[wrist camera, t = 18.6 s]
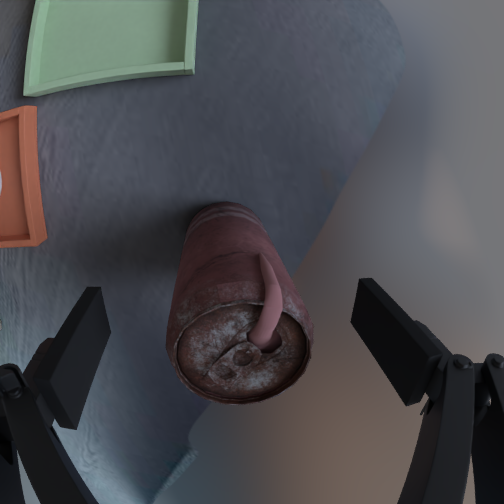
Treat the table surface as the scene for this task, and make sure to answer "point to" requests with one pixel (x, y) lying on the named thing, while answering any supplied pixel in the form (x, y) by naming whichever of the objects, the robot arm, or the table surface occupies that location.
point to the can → (235, 311)
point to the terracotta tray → (20, 180)
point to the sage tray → (108, 42)
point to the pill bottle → (0, 183)
